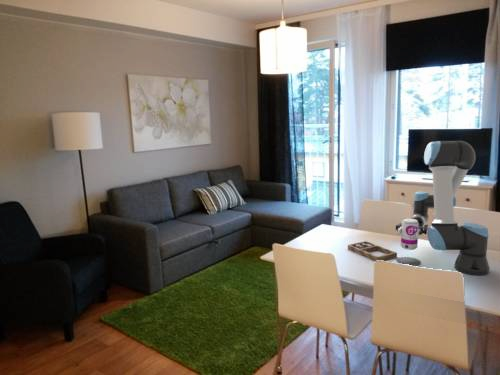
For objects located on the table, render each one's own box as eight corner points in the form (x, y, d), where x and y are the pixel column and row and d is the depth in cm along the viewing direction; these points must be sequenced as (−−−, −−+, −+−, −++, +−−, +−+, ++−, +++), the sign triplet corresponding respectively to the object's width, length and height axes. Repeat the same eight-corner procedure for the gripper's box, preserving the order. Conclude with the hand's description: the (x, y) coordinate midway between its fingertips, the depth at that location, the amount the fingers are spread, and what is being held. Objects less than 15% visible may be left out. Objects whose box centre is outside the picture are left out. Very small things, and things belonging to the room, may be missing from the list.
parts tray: (396, 257, 216) (397, 252, 215) (377, 261, 209) (377, 257, 209) (366, 244, 237) (366, 240, 236) (347, 248, 231) (347, 244, 230)
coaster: (426, 263, 206) (426, 262, 206) (409, 267, 201) (409, 266, 200) (407, 256, 216) (407, 255, 216) (391, 260, 211) (391, 259, 211)
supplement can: (418, 250, 203) (420, 222, 200) (401, 249, 205) (403, 222, 202) (415, 245, 211) (417, 218, 208) (399, 244, 212) (400, 217, 209)
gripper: (436, 231, 216) (429, 243, 197) (397, 226, 227) (386, 237, 209) (437, 218, 214) (430, 229, 196) (397, 213, 226) (387, 223, 207)
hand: (407, 233), depth 202 cm, fingers closed on supplement can, 8 cm apart
